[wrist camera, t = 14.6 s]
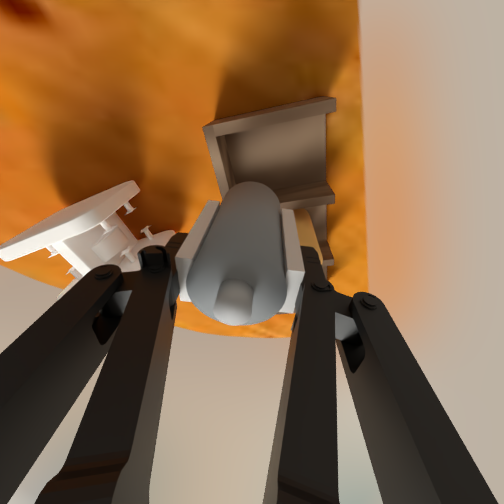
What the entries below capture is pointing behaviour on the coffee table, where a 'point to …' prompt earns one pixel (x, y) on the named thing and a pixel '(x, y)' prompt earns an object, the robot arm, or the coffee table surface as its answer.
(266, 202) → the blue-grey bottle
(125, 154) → the coffee table surface
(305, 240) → the yellow knobbed cylinder
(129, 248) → the cable organizer
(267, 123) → the brown compartment tray
